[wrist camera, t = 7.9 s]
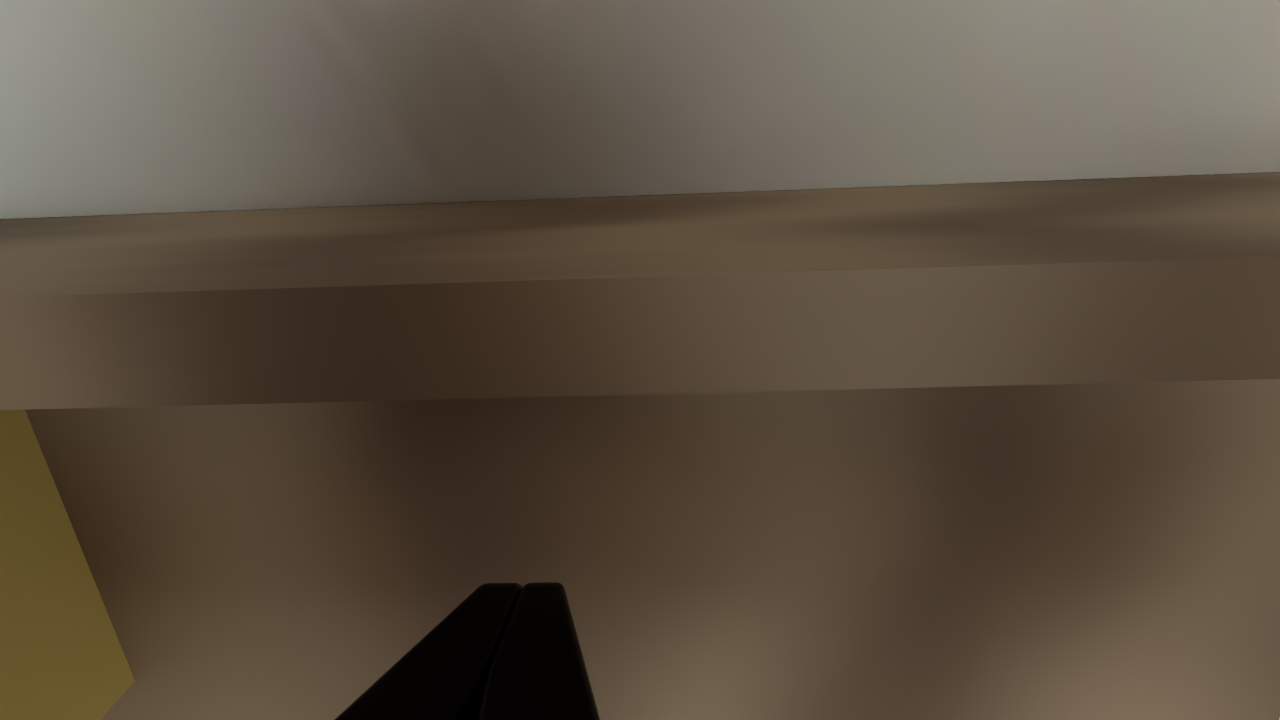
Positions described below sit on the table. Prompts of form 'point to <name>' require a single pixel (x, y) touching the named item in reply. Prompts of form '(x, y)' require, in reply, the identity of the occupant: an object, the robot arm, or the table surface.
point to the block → (48, 597)
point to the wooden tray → (681, 443)
